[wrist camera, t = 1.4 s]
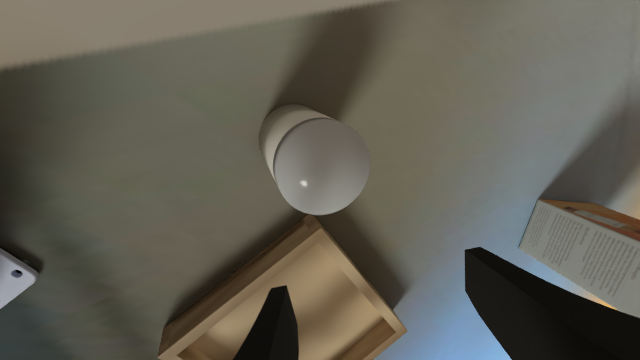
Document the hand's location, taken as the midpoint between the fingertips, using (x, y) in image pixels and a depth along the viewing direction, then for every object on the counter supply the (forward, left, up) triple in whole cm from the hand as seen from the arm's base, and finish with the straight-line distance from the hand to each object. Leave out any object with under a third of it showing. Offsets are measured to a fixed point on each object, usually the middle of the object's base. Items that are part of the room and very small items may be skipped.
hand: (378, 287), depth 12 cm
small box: (+20, +17, -11) cm, 29 cm away
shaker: (-4, +1, -11) cm, 12 cm away
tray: (+8, -8, -11) cm, 16 cm away
